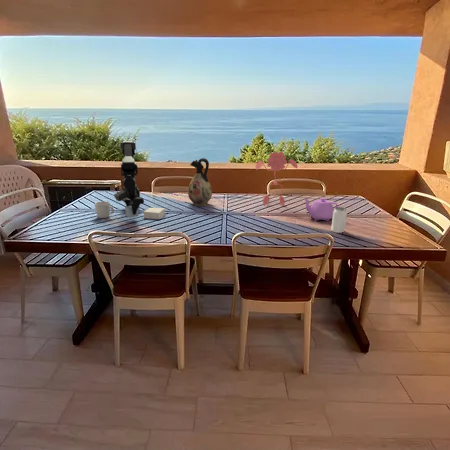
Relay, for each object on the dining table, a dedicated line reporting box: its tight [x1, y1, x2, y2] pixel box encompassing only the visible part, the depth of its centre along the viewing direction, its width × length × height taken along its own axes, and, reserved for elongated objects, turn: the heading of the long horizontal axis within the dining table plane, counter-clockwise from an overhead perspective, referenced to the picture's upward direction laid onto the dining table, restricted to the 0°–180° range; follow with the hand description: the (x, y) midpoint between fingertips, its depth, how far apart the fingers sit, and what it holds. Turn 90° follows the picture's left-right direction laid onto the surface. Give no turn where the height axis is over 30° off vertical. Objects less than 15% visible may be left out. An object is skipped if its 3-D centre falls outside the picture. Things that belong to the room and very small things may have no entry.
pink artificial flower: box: [255, 150, 298, 211], centre depth 216 cm, size 15×26×35 cm, turn 89°
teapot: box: [303, 197, 339, 222], centre depth 196 cm, size 20×14×12 cm
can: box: [330, 206, 348, 234], centre depth 176 cm, size 6×6×12 cm
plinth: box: [143, 207, 166, 220], centre depth 196 cm, size 9×9×4 cm
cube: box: [124, 205, 139, 218], centre depth 187 cm, size 5×5×5 cm
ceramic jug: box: [187, 157, 213, 207], centre depth 219 cm, size 17×15×30 cm
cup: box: [94, 201, 115, 219], centre depth 192 cm, size 11×8×8 cm
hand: (132, 213), depth 187 cm, fingers closed on cube, 5 cm apart
